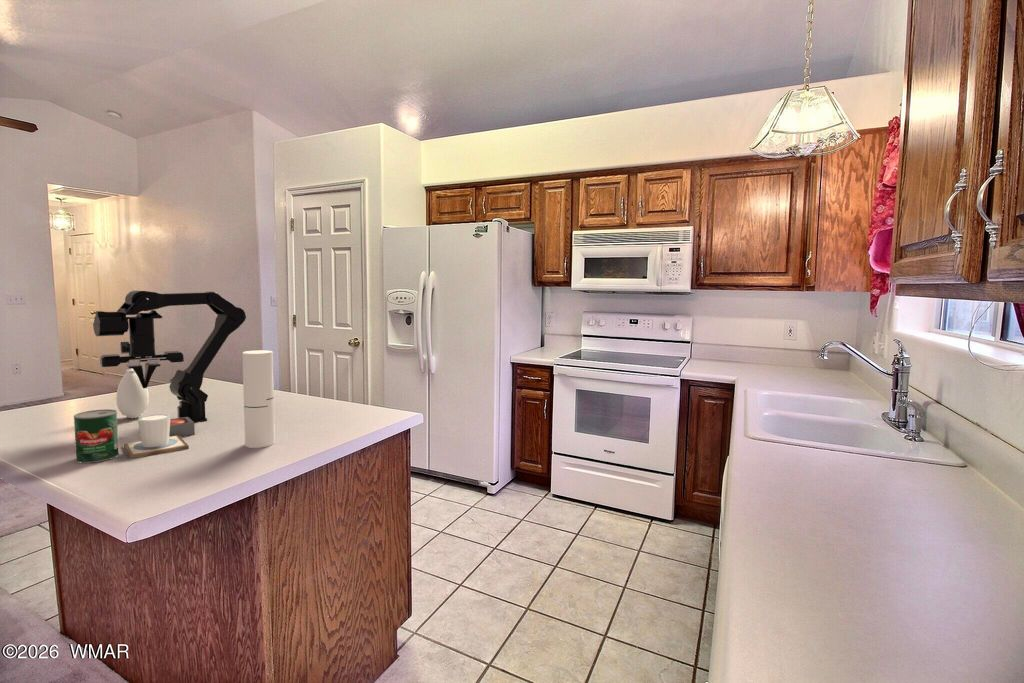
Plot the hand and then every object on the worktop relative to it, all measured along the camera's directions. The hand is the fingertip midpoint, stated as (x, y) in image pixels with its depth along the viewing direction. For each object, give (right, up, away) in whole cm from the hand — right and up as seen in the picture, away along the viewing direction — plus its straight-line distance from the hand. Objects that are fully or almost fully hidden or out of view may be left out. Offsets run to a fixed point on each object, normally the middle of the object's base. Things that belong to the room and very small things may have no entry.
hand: (144, 388), depth 141 cm
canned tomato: (+6, -15, -23) cm, 28 cm away
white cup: (+14, -13, -15) cm, 25 cm away
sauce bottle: (-12, -11, +12) cm, 20 cm away
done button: (+11, -11, -3) cm, 16 cm away
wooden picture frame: (+14, -14, -15) cm, 25 cm away
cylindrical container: (+38, -14, -10) cm, 42 cm away
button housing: (+11, -13, -3) cm, 17 cm away
